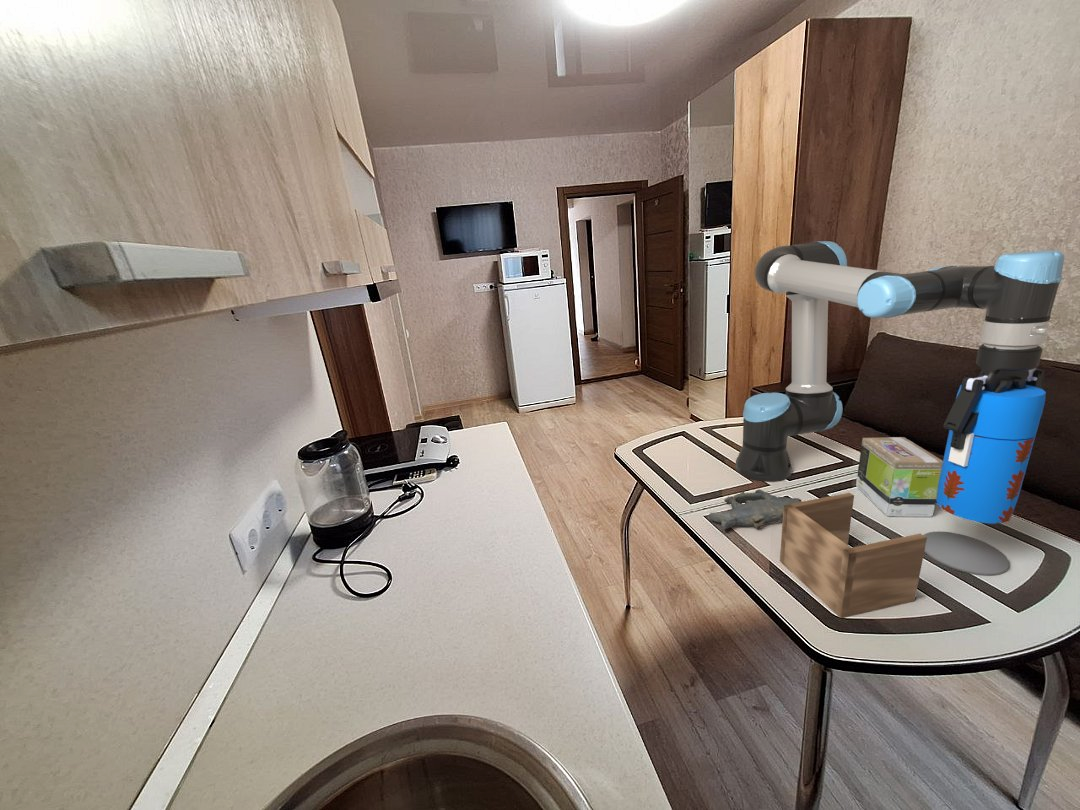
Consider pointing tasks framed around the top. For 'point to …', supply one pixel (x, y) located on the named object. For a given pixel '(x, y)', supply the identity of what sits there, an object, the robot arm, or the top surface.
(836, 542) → the walnut cubby
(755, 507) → the stone fish figurine
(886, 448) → the tea box
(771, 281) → the robot arm
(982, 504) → the thermos
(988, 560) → the coaster
